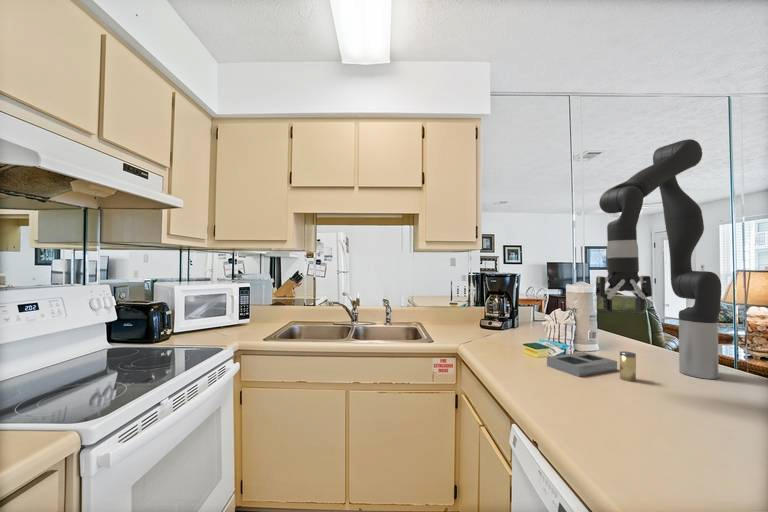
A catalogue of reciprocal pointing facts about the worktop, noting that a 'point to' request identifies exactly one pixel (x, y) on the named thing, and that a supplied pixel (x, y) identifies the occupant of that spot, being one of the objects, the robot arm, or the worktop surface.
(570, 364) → the grey fitting block
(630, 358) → the gold and grey cylinder
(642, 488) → the worktop surface
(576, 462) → the worktop surface
